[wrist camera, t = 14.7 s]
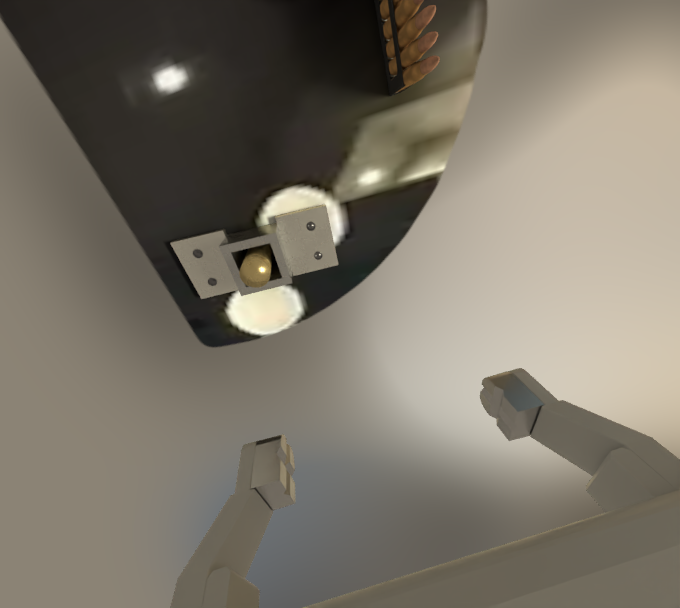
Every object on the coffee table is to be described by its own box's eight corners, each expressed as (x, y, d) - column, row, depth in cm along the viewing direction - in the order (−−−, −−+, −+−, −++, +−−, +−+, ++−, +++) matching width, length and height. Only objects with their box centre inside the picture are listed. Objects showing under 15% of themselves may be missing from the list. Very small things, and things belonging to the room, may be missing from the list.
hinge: (172, 240, 40) (156, 253, 34) (325, 204, 41) (330, 211, 36) (203, 295, 45) (192, 314, 40) (337, 262, 46) (343, 276, 41)
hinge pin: (244, 243, 42) (234, 264, 34) (268, 237, 42) (264, 257, 34) (253, 266, 44) (245, 290, 36) (276, 260, 44) (274, 283, 36)
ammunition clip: (402, 91, 35) (448, 68, 25) (389, 96, 35) (430, 74, 25) (386, -24, 30) (438, -114, 19) (371, -18, 30) (414, -106, 19)
